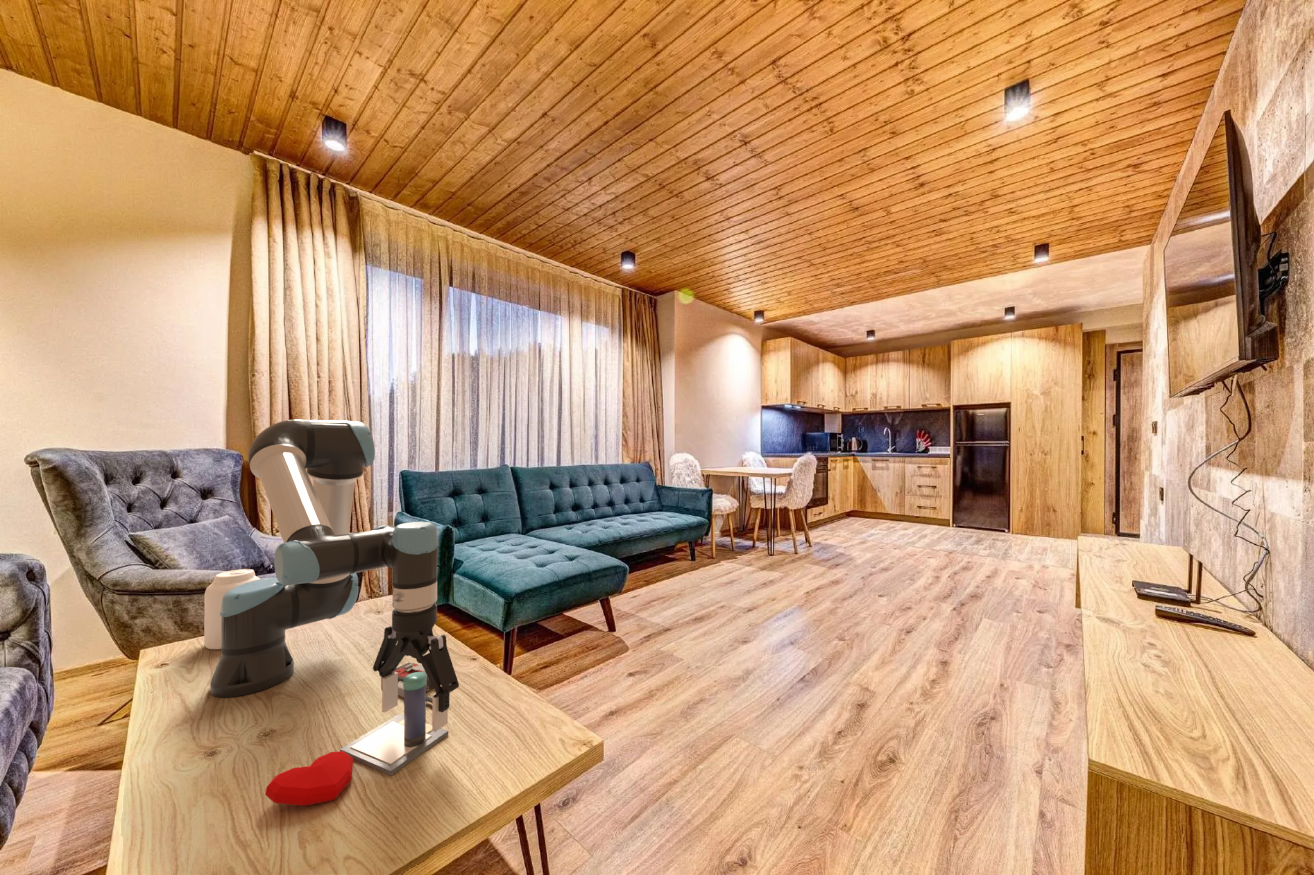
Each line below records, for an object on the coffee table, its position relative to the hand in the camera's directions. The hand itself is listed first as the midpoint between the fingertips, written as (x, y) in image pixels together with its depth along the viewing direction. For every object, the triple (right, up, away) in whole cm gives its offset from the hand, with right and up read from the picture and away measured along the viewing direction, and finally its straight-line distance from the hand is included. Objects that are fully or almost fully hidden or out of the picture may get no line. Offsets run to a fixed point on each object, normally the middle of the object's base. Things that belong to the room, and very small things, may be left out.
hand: (414, 717), depth 87 cm
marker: (0, -4, 0) cm, 4 cm away
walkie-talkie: (-9, -6, +20) cm, 23 cm away
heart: (-9, -5, -12) cm, 16 cm away
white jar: (-76, -6, +46) cm, 90 cm away
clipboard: (-4, -5, 0) cm, 6 cm away
